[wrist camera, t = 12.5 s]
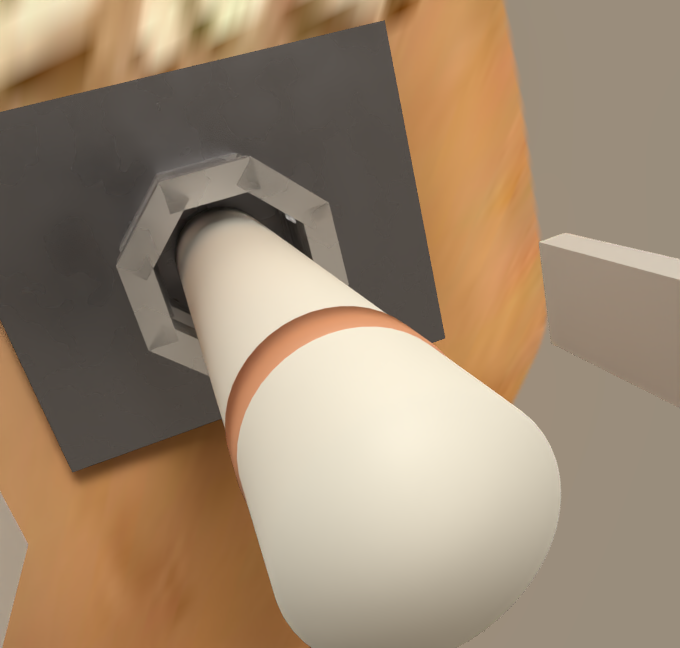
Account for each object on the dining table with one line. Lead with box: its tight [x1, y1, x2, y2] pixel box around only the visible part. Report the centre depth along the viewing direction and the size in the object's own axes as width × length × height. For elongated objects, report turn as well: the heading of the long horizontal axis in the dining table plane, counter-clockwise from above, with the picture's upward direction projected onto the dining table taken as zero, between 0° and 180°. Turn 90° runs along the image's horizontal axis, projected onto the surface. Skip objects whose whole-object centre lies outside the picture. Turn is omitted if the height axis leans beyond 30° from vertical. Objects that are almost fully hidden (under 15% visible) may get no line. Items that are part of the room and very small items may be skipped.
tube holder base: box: [0, 20, 445, 472], centre depth 27 cm, size 20×16×6 cm
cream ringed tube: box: [175, 207, 561, 648], centre depth 19 cm, size 4×4×22 cm
